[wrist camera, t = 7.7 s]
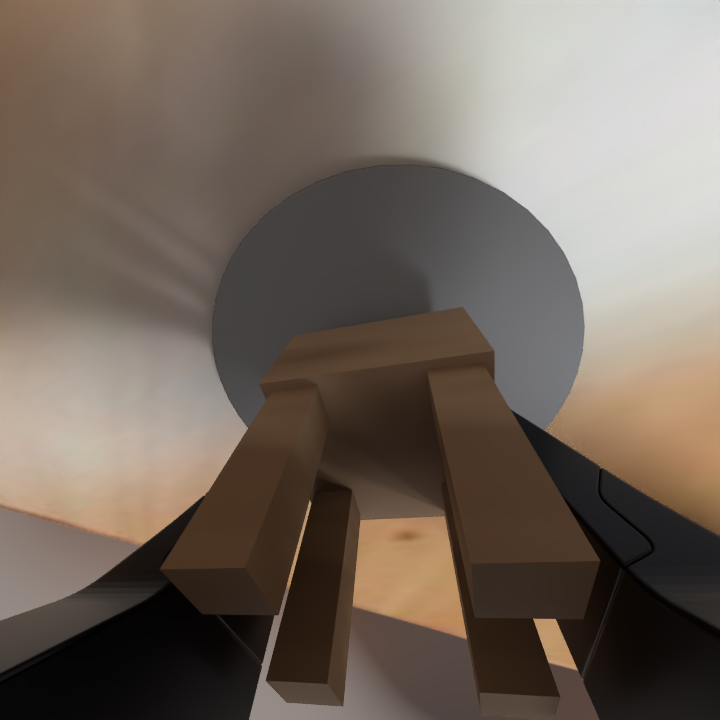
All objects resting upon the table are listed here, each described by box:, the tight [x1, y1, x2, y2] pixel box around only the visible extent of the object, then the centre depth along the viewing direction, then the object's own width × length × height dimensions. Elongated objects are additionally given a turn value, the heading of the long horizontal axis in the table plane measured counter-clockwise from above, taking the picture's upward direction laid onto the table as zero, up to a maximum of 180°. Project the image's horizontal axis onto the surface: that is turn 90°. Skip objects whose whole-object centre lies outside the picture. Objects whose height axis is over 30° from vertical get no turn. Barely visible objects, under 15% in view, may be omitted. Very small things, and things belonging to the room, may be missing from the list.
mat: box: [213, 165, 584, 430], centre depth 12 cm, size 14×14×1 cm
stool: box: [160, 307, 600, 720], centre depth 7 cm, size 6×6×7 cm
